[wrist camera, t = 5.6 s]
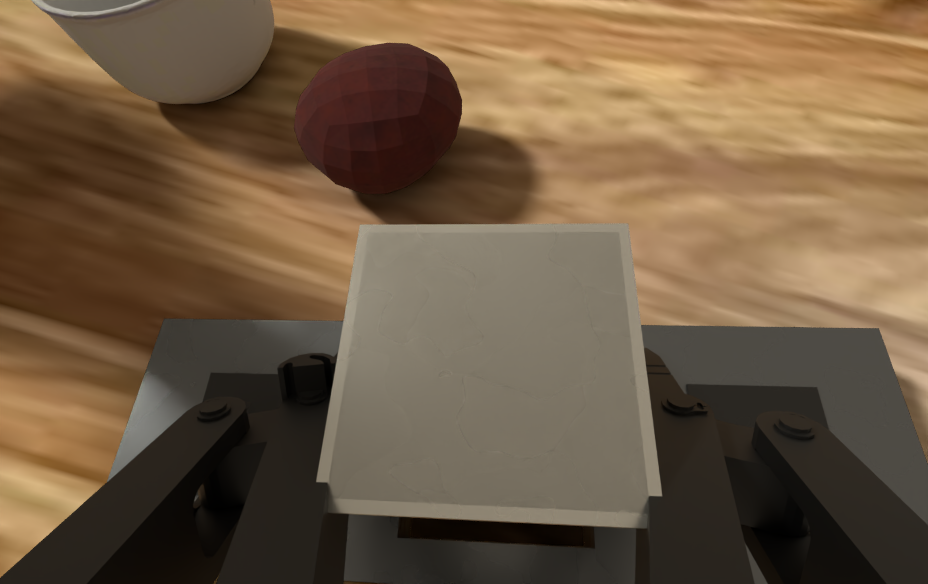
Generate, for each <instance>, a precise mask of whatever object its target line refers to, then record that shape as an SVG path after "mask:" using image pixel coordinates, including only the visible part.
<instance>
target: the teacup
mask: <svg viewBox="0 0 928 584" xmlns="http://www.w3.org/2000/svg"><path fill="white" fill-rule="evenodd" d="M32 1H33V3H34V4H35V5H36V6H37V7H39V8H40V9H41V10H42V11H44V12H45V13H47V14H49V15H50V16H51V18H52V19H53V20H54V21H55V22H56V23H57V24H58V25H59V26H60V27H61V28H62V29H63V30H64V31H65V32H66V33H67V34H68V35H69V36H70V37H71V38H72V39H73V40H74V41H75V42H76V43H77V44H78V45H79V46H80V47H81V48H82V49H83V50H84V51H85V52H86V53H87V54H88V55H89V56H90V57H91V58H92V59H93V60H94V61H95V62H96V63H97V64H98V65H99V66H100V67H101V68H102V69H103V70H105V71H106V72H107V73H108V74H109V75H110V76H111V77H112V78H113V79H115V80H116V81H117V82H118V83H120V84H121V85H122V86H124V87H125V88H127V89H128V90H130V91H131V92H133V93H135V94H137V95H139V96H141V97H144V98H147V99H149V100H152V101H156V102H162V103H168V104H187V103H190V104H198V103H206V102H211V101H215V100H218V99H221V98H224V97H226V96H228V95H230V94H232V93H234V92H236V91H237V90H239V89H240V88H242V87H243V86H244V85H245V84H246V83H247V82H248V81H249V80H250V79H251V78H252V77H253V76H254V75H255V73H256V72H257V71H258V69H259V67H260V65H261V63H262V62H263V60H264V59H265V57H266V55H267V53H268V51H269V49H270V46H271V43H272V40H273V35H274V16H273V10H272V5H271V2H270V0H32Z"/></svg>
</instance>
